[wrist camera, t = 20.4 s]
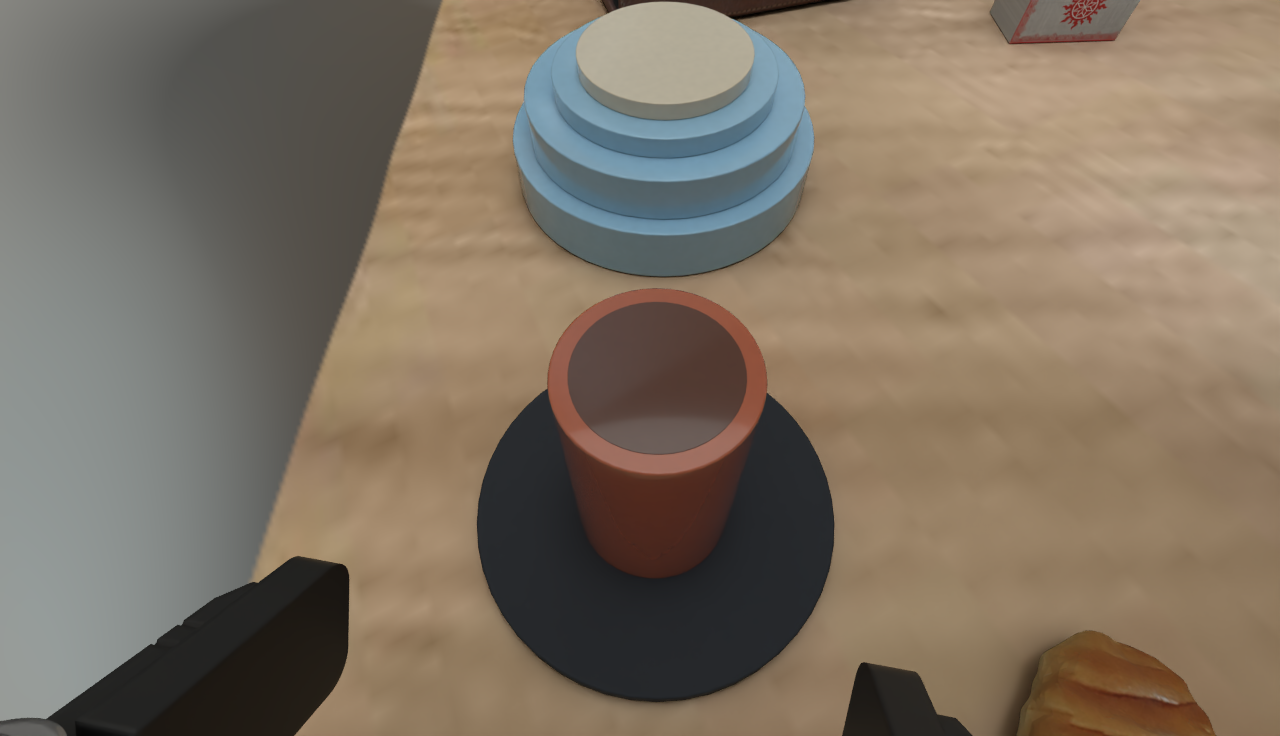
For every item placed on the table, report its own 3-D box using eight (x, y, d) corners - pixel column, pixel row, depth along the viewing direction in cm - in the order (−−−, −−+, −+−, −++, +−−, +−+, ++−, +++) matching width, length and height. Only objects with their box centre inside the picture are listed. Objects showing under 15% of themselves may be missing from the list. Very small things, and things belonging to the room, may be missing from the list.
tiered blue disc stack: (702, 59, 39) (711, -62, 34) (862, 204, 32) (909, 83, 27) (478, 138, 35) (446, 17, 30) (605, 324, 28) (595, 211, 23)
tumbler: (677, 414, 25) (690, 259, 17) (757, 529, 23) (813, 406, 15) (554, 478, 24) (511, 340, 16) (625, 608, 21) (613, 518, 14)
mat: (704, 318, 29) (705, 308, 28) (904, 570, 22) (913, 564, 22) (431, 451, 25) (424, 442, 24) (580, 791, 19) (577, 792, 18)
